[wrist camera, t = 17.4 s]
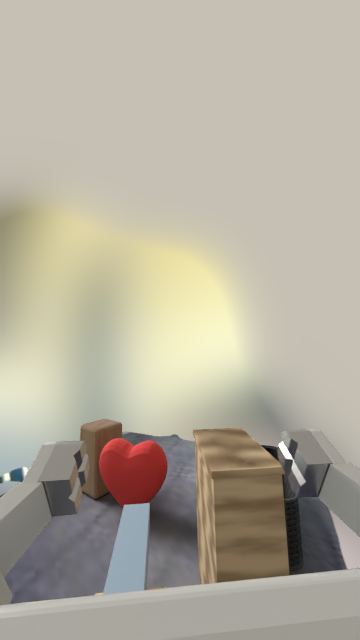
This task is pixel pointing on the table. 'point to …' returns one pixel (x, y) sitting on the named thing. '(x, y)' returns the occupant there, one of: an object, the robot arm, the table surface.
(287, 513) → the storage bin
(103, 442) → the block
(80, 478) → the robot arm
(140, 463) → the heart
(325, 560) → the table surface
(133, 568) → the blue bar
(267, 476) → the oak stand
